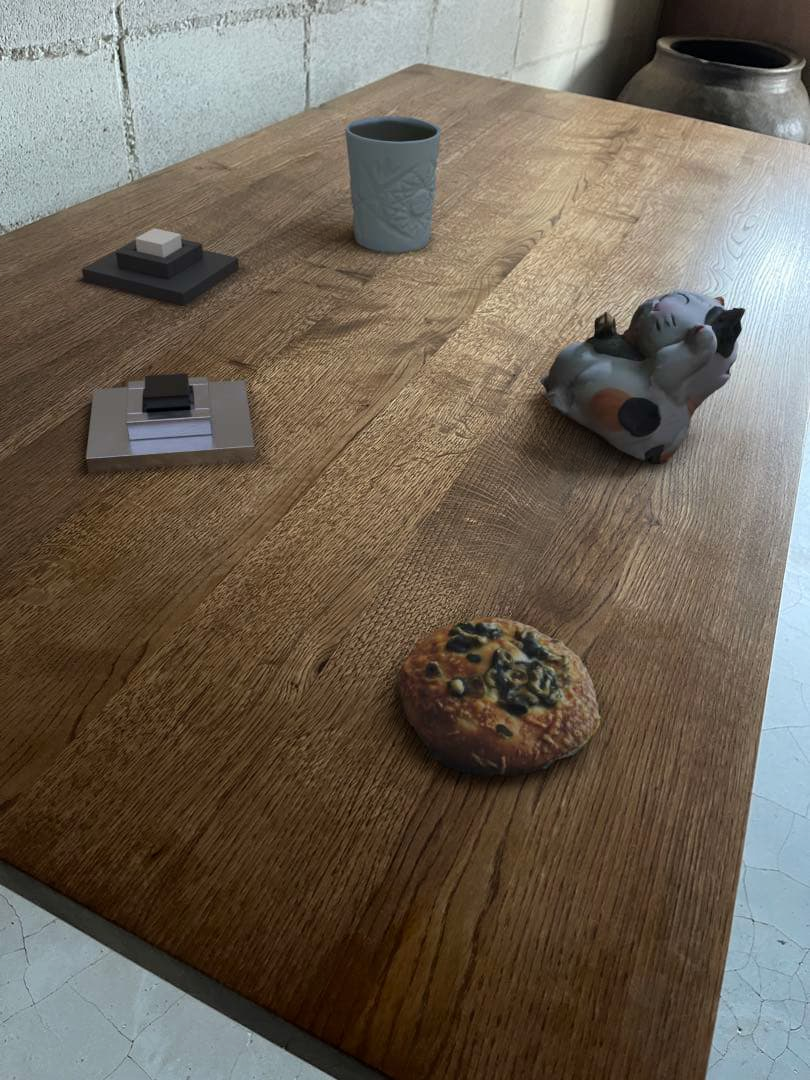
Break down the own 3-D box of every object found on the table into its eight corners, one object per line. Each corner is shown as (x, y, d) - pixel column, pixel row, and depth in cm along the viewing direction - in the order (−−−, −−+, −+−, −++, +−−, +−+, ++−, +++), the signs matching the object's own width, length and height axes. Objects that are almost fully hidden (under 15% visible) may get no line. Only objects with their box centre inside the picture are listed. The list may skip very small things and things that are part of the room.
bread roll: (380, 765, 47) (389, 691, 45) (410, 638, 57) (420, 571, 54) (594, 806, 47) (617, 732, 44) (589, 670, 56) (607, 603, 54)
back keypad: (83, 281, 92) (78, 252, 91) (143, 248, 100) (139, 221, 98) (184, 306, 89) (181, 277, 87) (239, 270, 96) (237, 242, 94)
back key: (136, 253, 92) (134, 238, 91) (155, 242, 94) (154, 227, 93) (163, 259, 91) (161, 244, 90) (182, 248, 93) (180, 233, 92)
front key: (147, 414, 69) (144, 396, 68) (147, 393, 71) (144, 375, 70) (190, 412, 69) (188, 393, 68) (189, 390, 72) (187, 373, 71)
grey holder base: (88, 474, 67) (81, 439, 65) (96, 404, 74) (90, 371, 73) (255, 461, 69) (252, 427, 67) (246, 394, 77) (243, 362, 75)
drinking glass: (435, 257, 101) (442, 143, 93) (343, 254, 101) (343, 139, 93) (432, 224, 109) (439, 116, 101) (347, 221, 109) (347, 112, 101)
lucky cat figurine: (541, 373, 81) (636, 231, 76) (655, 447, 81) (758, 312, 76) (524, 411, 68) (638, 242, 62) (660, 500, 68) (787, 340, 62)
